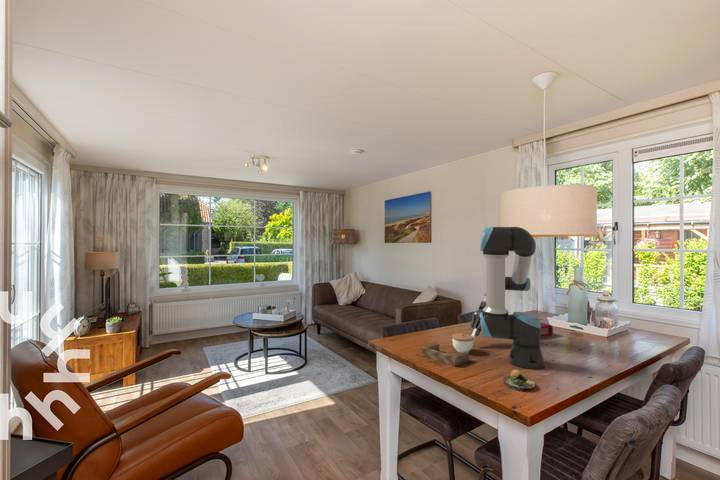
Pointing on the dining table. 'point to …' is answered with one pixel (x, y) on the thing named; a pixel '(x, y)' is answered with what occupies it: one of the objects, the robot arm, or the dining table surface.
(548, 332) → the book
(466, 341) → the lidded jar
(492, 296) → the robot arm
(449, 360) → the u-shaped bracket
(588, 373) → the dining table surface
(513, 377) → the plate of food
